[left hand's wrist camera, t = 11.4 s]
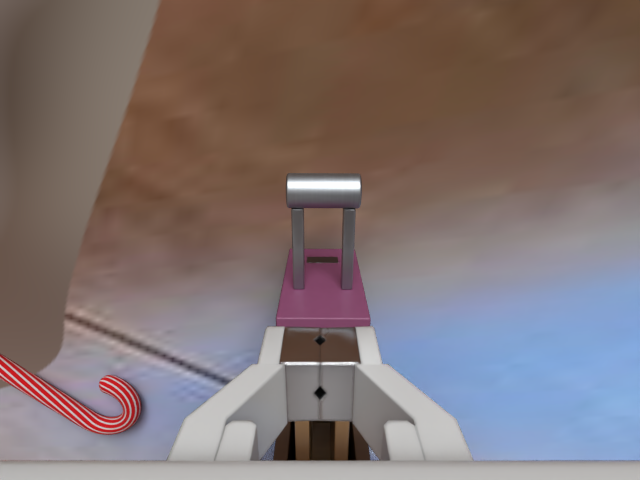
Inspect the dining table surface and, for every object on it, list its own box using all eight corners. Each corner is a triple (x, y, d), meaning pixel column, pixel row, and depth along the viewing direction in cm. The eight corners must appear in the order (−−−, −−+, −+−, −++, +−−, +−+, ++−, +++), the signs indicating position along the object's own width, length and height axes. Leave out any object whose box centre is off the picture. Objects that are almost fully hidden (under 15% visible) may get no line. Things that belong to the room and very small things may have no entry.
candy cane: (-8, 288, 27) (-25, 298, 26) (158, 397, 31) (150, 411, 30) (-43, 336, 29) (-62, 348, 28) (118, 435, 33) (109, 450, 31)
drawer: (287, 156, 23) (269, 187, 15) (358, 156, 23) (379, 188, 15) (294, 417, 31) (285, 529, 23) (347, 418, 31) (357, 529, 23)
